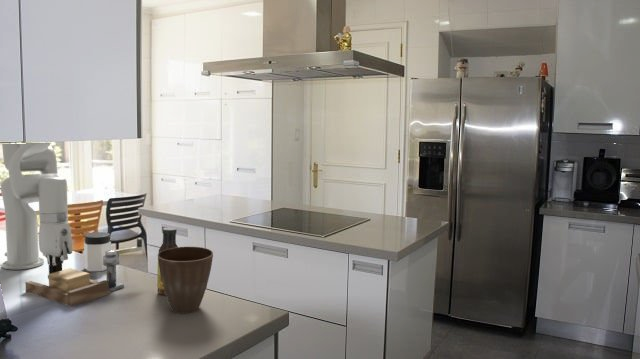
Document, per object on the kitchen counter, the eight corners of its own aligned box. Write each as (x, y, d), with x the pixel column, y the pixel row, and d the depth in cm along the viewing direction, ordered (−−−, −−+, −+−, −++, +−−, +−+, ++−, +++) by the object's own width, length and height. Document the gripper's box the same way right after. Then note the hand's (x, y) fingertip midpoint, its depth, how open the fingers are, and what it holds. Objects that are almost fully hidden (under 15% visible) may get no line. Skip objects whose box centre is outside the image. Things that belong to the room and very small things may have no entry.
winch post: (99, 288, 152) (98, 257, 151) (113, 284, 157) (112, 253, 155) (110, 291, 150) (109, 259, 149) (123, 287, 154) (123, 255, 153)
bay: (25, 291, 148) (25, 278, 147) (63, 280, 158) (63, 268, 158) (71, 306, 137) (70, 292, 137) (108, 293, 148) (108, 281, 148)
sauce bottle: (159, 296, 147) (158, 231, 145) (155, 290, 152) (154, 227, 150) (181, 293, 150) (181, 230, 148) (177, 287, 155) (176, 225, 153)
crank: (139, 249, 160) (139, 237, 160) (144, 250, 158) (144, 239, 158) (103, 255, 152) (103, 243, 151) (108, 257, 150) (107, 245, 149)
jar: (114, 269, 172) (113, 235, 171) (89, 273, 167) (88, 238, 165) (106, 263, 179) (105, 230, 177) (82, 266, 174) (81, 233, 172)
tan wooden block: (48, 293, 146) (47, 274, 146) (71, 286, 153) (70, 268, 152) (67, 299, 142) (67, 279, 141) (90, 292, 148) (90, 273, 148)
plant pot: (224, 307, 140) (224, 252, 139) (182, 323, 128) (182, 264, 126) (188, 295, 149) (188, 243, 147) (146, 310, 136) (146, 254, 135)
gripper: (81, 218, 147) (82, 278, 150) (50, 213, 155) (52, 269, 157) (57, 222, 141) (59, 284, 143) (26, 216, 148) (29, 275, 150)
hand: (55, 276), depth 150 cm, fingers closed
